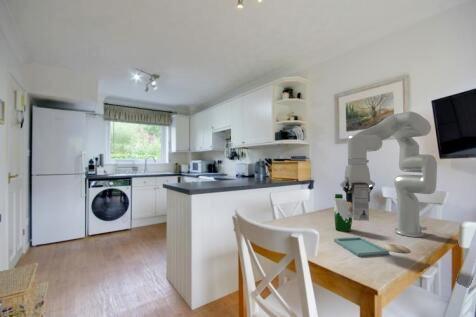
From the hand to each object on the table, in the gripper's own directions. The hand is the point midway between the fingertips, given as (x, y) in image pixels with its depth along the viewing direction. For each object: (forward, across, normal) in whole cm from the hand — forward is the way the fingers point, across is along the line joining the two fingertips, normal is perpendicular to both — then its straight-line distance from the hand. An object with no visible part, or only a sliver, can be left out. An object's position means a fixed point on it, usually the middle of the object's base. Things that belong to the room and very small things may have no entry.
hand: (357, 201), depth 101 cm
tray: (+21, -1, -1) cm, 21 cm away
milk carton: (+21, -10, -27) cm, 36 cm away
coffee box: (+8, 0, 0) cm, 8 cm away
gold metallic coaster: (+21, -16, +3) cm, 27 cm away
